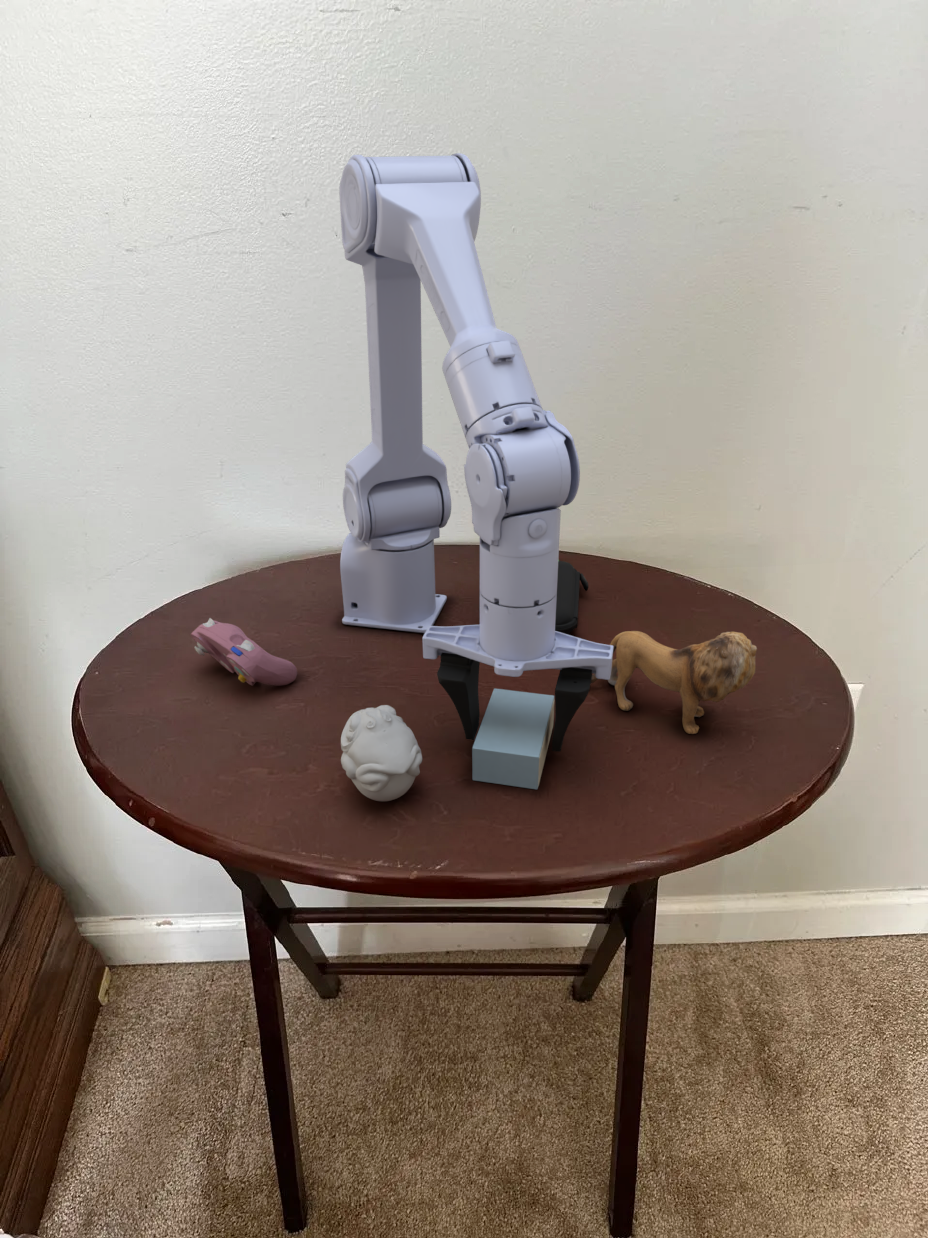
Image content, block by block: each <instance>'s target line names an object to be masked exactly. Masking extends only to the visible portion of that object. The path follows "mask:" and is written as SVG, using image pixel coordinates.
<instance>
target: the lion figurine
mask: <svg viewBox="0 0 928 1238" xmlns="http://www.w3.org/2000/svg"><path fill="white" fill-rule="evenodd" d="M609 645H613V646H614V647H613V654H614V653H615V659H612V669H611V675H610V680H607V682H608V683H609V684H610V685H611V686H614V691H615V693H616V699H617V704H618V707H619V709H620V710H622V711H627V712H628V711H630V710H631V709H633V706H634V703H633V702H632V701H631V700H629V699H628V698H627V697H626V691H625V690H626V686H627V684H628V682H629V681H630V680H631V678H632V676H633V674H634V672H635V670H636V669H639V670H640V671H642V673H643V674H644V676H646V677H647V679H649V680H650V681H651V682H652V683H653V684H655V685H657V686H658V687H660V688H661V689H664V690H668V691H671V692H676V693H679V695H680V697H681V701H682V720H681V722H682V727H683V730H684V732H685V733H686V734H689V735H695V734H697V733H699V729H700V727H699V725H697V724H696V721H695V717H696V718H701V717H702V716H704V714H705V711H704V708H703V707H701V706H699V704H700V701H702V702H708V701H710V702H715V703H719V702H721V701H723V700H725V698H726V697H727V696H728V695H729V694H733V693H735V692H736V691H738V690H740V689H744V687H745V686H747V685H748V684H749V682H750V681H751V680H752V679H753V677H754V675H755V674H756V655H757V651H758V648H757V646H756V645H755V644H752V640H751V639H749V638H747V636H746V635H745V634H744V633H743V632H737V631H726V632H721V633H720V635H717V636H715V638H711V639H709V640H705V641H704V642H701V643H698V644H697V643H696V644H695V643H694V644H690V645H687V646H686V647H683V648H680V649H677V648H673V647H670V646H667V645H664V644H662V643H660V642H658V641H656V640H655V639H654V638H653V637H651V636H650V635H648V634H647V633H645V632H644V631H643V632H642V631H640V630H631V631H630V630H627V631H622V632H620V633H618V634H617V635H615V636H614V637H613V639H612V640H611V641H610V643H609ZM597 680H599V679H598V678H596V677H595V674H594V673H593V674H592V679H591V684H593V683H595V682H596V681H597Z"/></svg>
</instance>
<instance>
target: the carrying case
mask: <svg viewBox="0 0 928 1238" xmlns="http://www.w3.org/2000/svg"><path fill="white" fill-rule="evenodd" d="M580 584H581V585H582V588H583V590H584V591H585V592H588V591H589V582H588V580H587V579H586V577H585V575H584V574H583V573H582V572H580V571H578V570H577V569H576V568H575V567H574V566H573V565H572V564H571V563H570V562H567V561H564V560H559V561H558V579H557V599H556V620H555V631H557V632H561V633H564V634H567V635H570V633H572V632H573V631H574V630H575V629H577V628H578V626H579V605H580V604H579V601H580V599H579V598H580Z"/></svg>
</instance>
